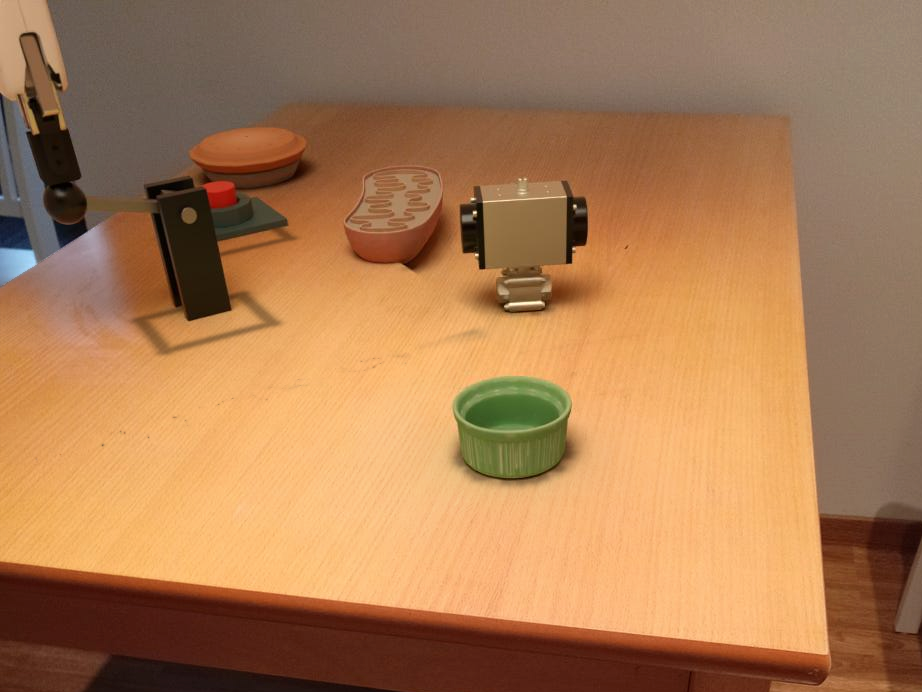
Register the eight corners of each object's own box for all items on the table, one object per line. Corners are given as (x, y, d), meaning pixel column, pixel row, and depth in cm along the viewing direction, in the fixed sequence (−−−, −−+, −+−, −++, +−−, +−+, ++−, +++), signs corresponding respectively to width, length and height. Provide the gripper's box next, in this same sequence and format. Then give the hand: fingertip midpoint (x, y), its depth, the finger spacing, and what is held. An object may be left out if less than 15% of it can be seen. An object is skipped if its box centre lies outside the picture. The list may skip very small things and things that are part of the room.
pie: (292, 195, 130) (285, 153, 127) (178, 194, 132) (168, 153, 129) (324, 159, 141) (319, 120, 138) (219, 159, 144) (211, 120, 140)
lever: (49, 228, 88) (46, 184, 86) (40, 217, 90) (37, 173, 88) (200, 233, 94) (200, 192, 92) (188, 222, 97) (188, 182, 95)
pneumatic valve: (586, 311, 99) (589, 182, 91) (466, 319, 99) (459, 190, 91) (578, 289, 103) (581, 163, 95) (463, 296, 103) (457, 171, 95)
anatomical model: (372, 209, 124) (367, 166, 121) (452, 207, 124) (450, 163, 121) (343, 281, 107) (336, 233, 104) (436, 279, 107) (433, 231, 103)
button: (209, 213, 115) (205, 194, 113) (198, 204, 117) (194, 185, 116) (242, 206, 116) (239, 187, 115) (231, 197, 119) (227, 178, 118)
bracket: (164, 351, 96) (128, 212, 88) (138, 319, 102) (102, 186, 94) (273, 323, 100) (248, 187, 92) (242, 293, 106) (216, 163, 98)
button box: (190, 261, 114) (182, 224, 111) (164, 235, 120) (156, 200, 118) (290, 238, 118) (284, 202, 115) (259, 215, 125) (253, 180, 122)
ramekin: (594, 448, 79) (596, 396, 76) (519, 497, 74) (519, 445, 71) (507, 414, 84) (505, 364, 81) (431, 458, 79) (427, 407, 76)
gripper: (-83, -80, 79) (1, 168, 91) (-54, -65, 69) (35, 212, 81) (16, -90, 82) (84, 153, 94) (57, -77, 72) (128, 193, 84)
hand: (61, 179), depth 88 cm, fingers closed
